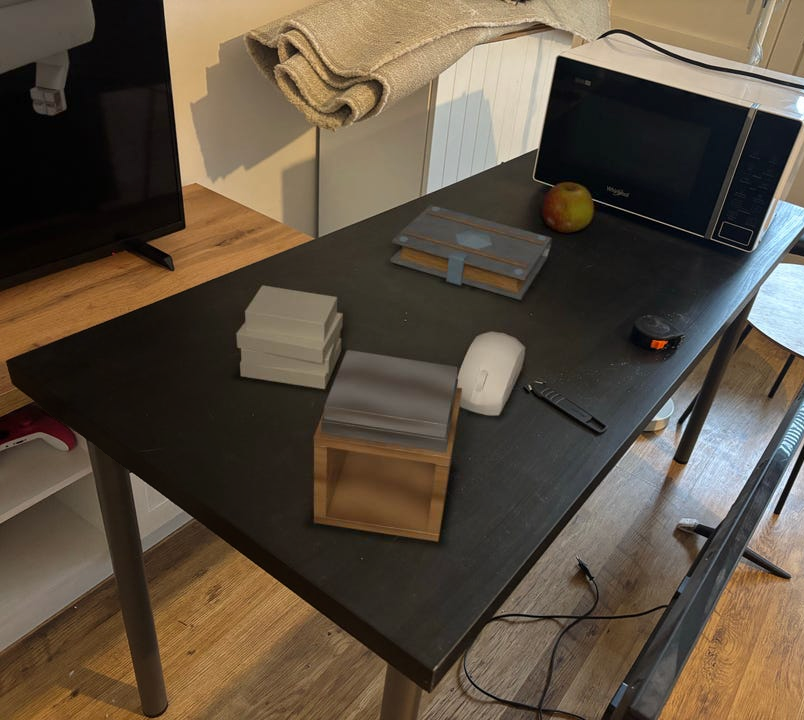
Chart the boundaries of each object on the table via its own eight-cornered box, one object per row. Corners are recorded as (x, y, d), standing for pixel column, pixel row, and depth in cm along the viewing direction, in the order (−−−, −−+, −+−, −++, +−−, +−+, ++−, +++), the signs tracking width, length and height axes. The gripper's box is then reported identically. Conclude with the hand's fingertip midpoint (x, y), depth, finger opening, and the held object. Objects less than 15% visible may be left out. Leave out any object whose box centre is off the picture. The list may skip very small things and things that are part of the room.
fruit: (538, 213, 135) (546, 172, 131) (587, 220, 136) (596, 179, 131) (538, 236, 128) (547, 193, 123) (590, 244, 128) (600, 201, 123)
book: (548, 258, 121) (553, 230, 118) (519, 303, 108) (525, 274, 105) (430, 225, 125) (433, 198, 122) (389, 265, 112) (391, 235, 109)
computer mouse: (447, 406, 87) (453, 363, 83) (479, 349, 97) (485, 309, 94) (499, 422, 86) (507, 379, 82) (526, 362, 96) (534, 322, 92)
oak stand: (438, 541, 70) (454, 431, 62) (313, 522, 70) (313, 410, 62) (450, 469, 78) (465, 363, 70) (338, 452, 78) (341, 344, 70)
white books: (326, 392, 86) (326, 350, 83) (237, 378, 86) (233, 335, 82) (344, 349, 93) (345, 309, 90) (261, 336, 93) (259, 295, 90)
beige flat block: (324, 342, 84) (324, 323, 82) (245, 329, 84) (244, 311, 82) (336, 314, 89) (337, 296, 87) (262, 303, 89) (262, 285, 87)
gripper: (17, -104, 55) (52, 87, 62) (-227, -93, 38) (-137, 169, 45) (102, -90, 55) (126, 100, 62) (-104, -72, 38) (-36, 186, 45)
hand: (14, 130), depth 54 cm, fingers open, 8 cm apart
